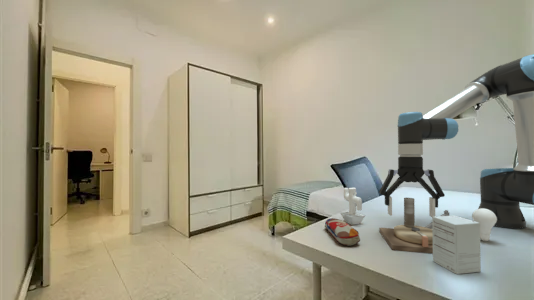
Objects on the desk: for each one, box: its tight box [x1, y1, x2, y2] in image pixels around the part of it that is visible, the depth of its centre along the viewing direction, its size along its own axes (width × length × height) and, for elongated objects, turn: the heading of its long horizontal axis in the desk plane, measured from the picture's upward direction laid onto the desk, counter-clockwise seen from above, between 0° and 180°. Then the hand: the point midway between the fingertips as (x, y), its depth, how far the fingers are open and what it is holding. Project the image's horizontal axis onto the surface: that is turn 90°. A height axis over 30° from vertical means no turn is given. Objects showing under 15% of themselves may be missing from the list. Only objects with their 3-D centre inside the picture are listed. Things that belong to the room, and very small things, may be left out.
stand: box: [378, 227, 433, 254], centre depth 79 cm, size 19×17×2 cm
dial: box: [393, 197, 433, 244], centre depth 79 cm, size 13×13×12 cm
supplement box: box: [431, 214, 482, 275], centre depth 63 cm, size 7×7×13 cm
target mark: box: [422, 236, 428, 247], centre depth 72 cm, size 1×1×3 cm
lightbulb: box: [472, 208, 497, 242], centre depth 80 cm, size 6×6×11 cm
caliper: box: [424, 209, 451, 229], centre depth 93 cm, size 21×1×6 cm, turn 119°
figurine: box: [340, 187, 366, 226], centre depth 101 cm, size 7×9×15 cm
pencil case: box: [324, 217, 361, 247], centre depth 85 cm, size 11×20×5 cm, turn 168°
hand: (410, 215), depth 84 cm, fingers open, 13 cm apart
